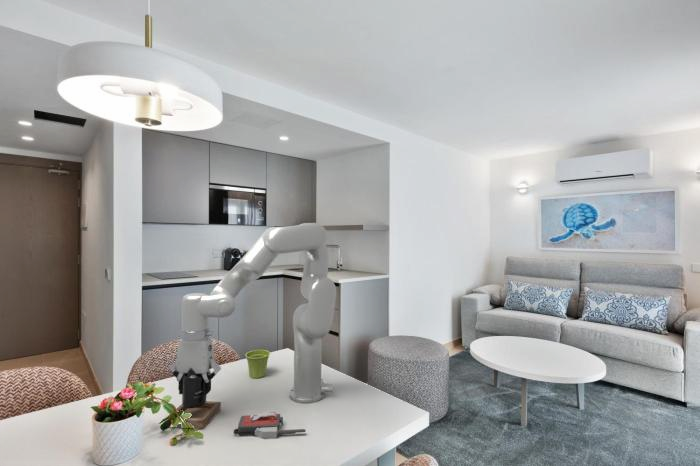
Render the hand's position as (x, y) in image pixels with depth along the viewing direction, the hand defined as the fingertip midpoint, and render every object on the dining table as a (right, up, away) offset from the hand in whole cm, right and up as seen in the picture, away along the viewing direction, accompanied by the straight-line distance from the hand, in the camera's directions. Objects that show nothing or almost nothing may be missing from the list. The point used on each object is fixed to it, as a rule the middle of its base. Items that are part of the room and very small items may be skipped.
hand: (194, 392), depth 107 cm
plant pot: (+11, -8, +32) cm, 35 cm away
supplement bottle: (0, -4, 0) cm, 4 cm away
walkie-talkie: (+24, -9, -6) cm, 26 cm away
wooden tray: (0, -8, 0) cm, 8 cm away
